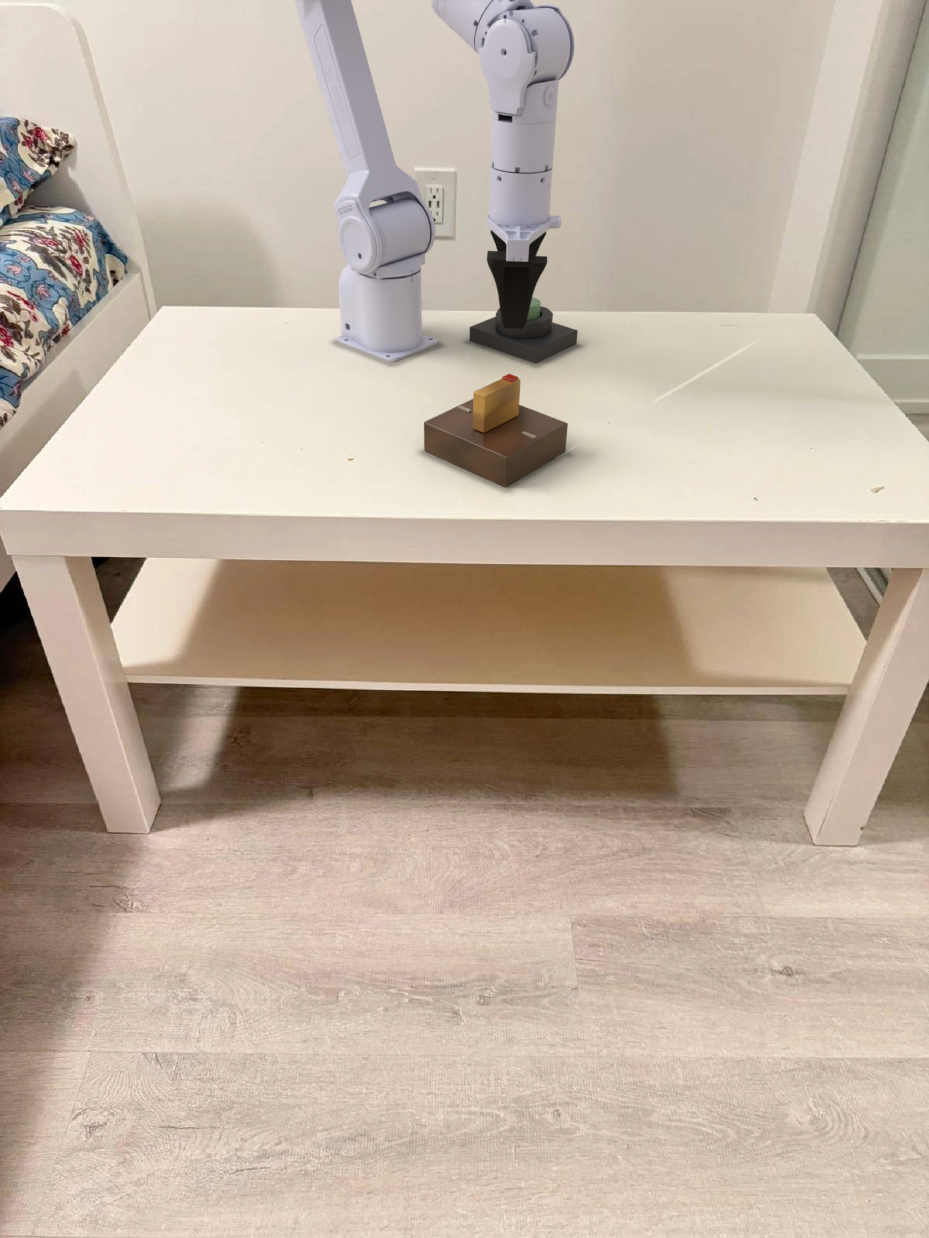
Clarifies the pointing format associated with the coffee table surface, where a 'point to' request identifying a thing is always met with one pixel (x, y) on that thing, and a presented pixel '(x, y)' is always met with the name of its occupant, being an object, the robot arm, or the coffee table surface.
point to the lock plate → (496, 442)
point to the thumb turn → (496, 403)
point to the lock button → (534, 309)
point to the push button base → (525, 337)
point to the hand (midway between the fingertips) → (514, 313)
